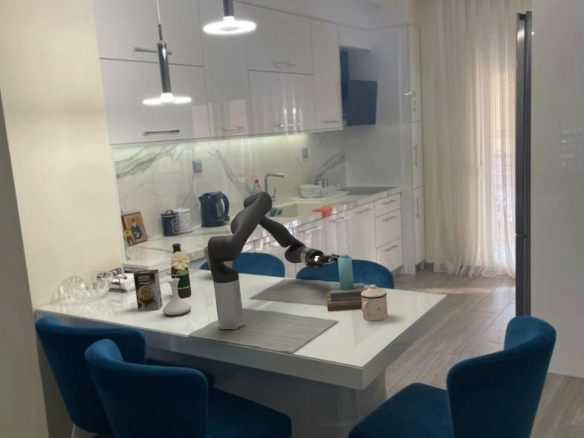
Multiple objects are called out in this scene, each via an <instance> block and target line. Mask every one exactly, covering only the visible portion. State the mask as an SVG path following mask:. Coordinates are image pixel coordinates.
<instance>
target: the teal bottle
mask: <svg viewBox="0 0 584 438" xmlns="http://www.w3.org/2000/svg"><path fill="white" fill-rule="evenodd" d="M352 261H353V260H352V256H350V255H349V254H347V253H342V254H341V255H340V257H338V263H337V265H338V266H337V267H338V277H339V279H338V280H339V285H340V289H342V290H349V289H353V288H354V285H353V284H354V274H353V273H354V272H353V262H352Z"/></svg>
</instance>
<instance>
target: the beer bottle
mask: <svg viewBox="0 0 584 438" xmlns="http://www.w3.org/2000/svg"><path fill="white" fill-rule="evenodd" d="M181 245H182V244H181V243H173V244H172V251H173V252H172V255H174V253H176V252H177V251H178V252H180V251H181V252H182V249H181ZM180 270H181V269H180ZM185 270H187V271H188V272H189V266H188V267H187V268H185ZM177 271H178V269H175V268H174V267H173V266H172V265H171V267H170V274H174V275H175V276H176V274H177V276H176V278H179V279H180V280H179V282H178V286H177V290H178V295H179V297H180V298H181V299H182V300H183V299H186V298H190V297H191V296H192V286H191V280H190V279H191V277H190V272H189V273H187V274H185V275H181V274H179V273H177ZM175 276H170V277H171V279H173V278H175Z"/></svg>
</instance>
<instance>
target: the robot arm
mask: <svg viewBox="0 0 584 438" xmlns="http://www.w3.org/2000/svg"><path fill="white" fill-rule="evenodd" d="M272 208H273V198H272V196H271V195H270V194H269V193H268V192H266V191H258V192H256V193H253V194H251V195H248V196H247V197H245V198H244V200H243V209H242V210H240V211H239V212H238V213H237V214H236V215H235V216H234V218H232V220H231V222H230V225H229V228H230V232H231V234H228V235H216V236H215V235H214V236H211V237H210V238H209V239H208V241H207V246H208V247H207V246H206V247H207V248H208V257H209V262H210V268H211V270H210V272H211V276H212V281H213V289H214V291H213V292H214V298H215V306H216V314H217V320H218V321H217V322H218V324H217V325H218V328H219V327H220V328H221V329H233V330H238V329H240V328H241V326H242V327H243V326H244V325H245V319H244V318H245V317H244V312H243V311H244V310H243V302H242V301H243V300H242V292H241V284H240V275H239V271H238V270H237V269H236V268H233V267H232V268H230V267H228V266H227V265H225V264H224V262H229V261H233V262H234V261H236V260H237V259H239V257H240V255H241V253H242V251H243V250H244V247H245V246H246V243H247V241H248V240H249V238H250V237H251V236H252V234H253V233H254V232H255V230H256V229H257V227H258V225H259V226H261V228H263V229H264V230H265V231H267V233H268V234H270V235H271V236H272V237H273V239H274V240H275V241H276V242H277V244H278V245H279V246H280V248H283V249H285V248H286V249H285V251H284V254H283V255H284V258H285V260H286V261H287V262H289V263H291V264H300V263H302V264H303V263H304V265H305V267H308V268H311V269H312V268H315V269H316V268H319V269H323V267H324V265H326V264H328V265H332V264H334V263H335V264H338V257H341V255H339V254H336V253H331V254H325V253H324V251H322V250H320V249H316V248H314V247H307V246H306V244H305V243H304V242H302V241H301V240H299V239H297V238H296V237H295V236H294V235H293V234H291V231H289V230H288V228H287V227H286V226H285V225H284V224H282V223H280V222H278V221H275V220H273V219H271V218H269V217H267V214H268V213H269V212H271V210H272ZM210 268H209V269H210ZM239 327H240V328H239ZM220 328H219V329H220ZM221 329H220V330H221Z"/></svg>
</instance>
